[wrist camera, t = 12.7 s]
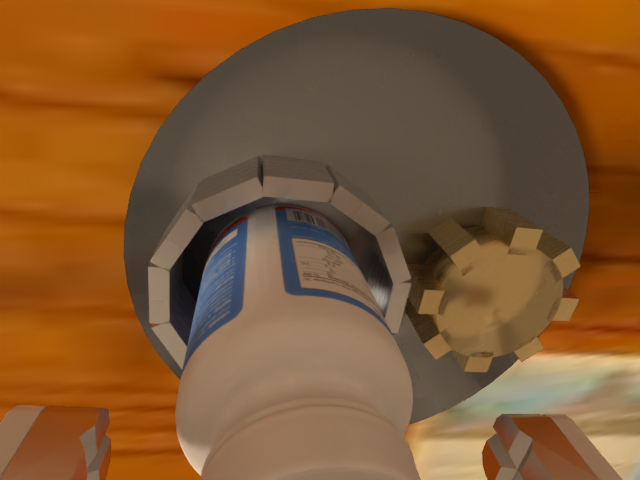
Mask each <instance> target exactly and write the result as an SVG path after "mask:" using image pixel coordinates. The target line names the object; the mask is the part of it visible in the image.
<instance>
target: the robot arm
mask: <svg viewBox="0 0 640 480" xmlns="http://www.w3.org/2000/svg"><path fill="white" fill-rule="evenodd" d="M108 425H109V413H108V409H106V408H90V407H66V406H30V405H17V406H15V407H14V408H13V409H12V410H10V411H9V412H8V413H7V414H6V416H5V417H4V419H3V420H2V421H1V423H0V480H106V476H107V472H108V468H109V463H110V455H111V439H110V438H109V437H107V436H106V435H105V432H106V430H107V427H108ZM493 428H494V430H495V432H496V434H495V435H494V436H492V437H491V438H490V439H488V440H487V441H486V444H485V446H484V449H483V452H482V457H483V468H484V471H485V474H486V477H487V479H488V480H622V478H621V477H620V476H619V475H618V474H617V473H616V471H615V470H614V469H613V468H612V467H611V465H610V464H609V463H608V462H607V461H606V459H605V458H604V457H603V456H602V455H601V453H600V452H599V451H598V450H597V449H596V448H595V446H594V445H593V444H592V443H591V442H590V440H589V439H588V438H587V437H586V436H585V434H584V433H583V432H582V431H581V430H580V428H579V427H578V426H577V425H576V424H575V423H574V421H573V420H572V419H570V418H569V417H567V416H566V415H545V414H544V415H540V414H502V415H501V416H499V417H498V418H497V419H496V421H495V423H494V425H493Z"/></svg>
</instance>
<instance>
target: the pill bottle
mask: <svg viewBox="0 0 640 480" xmlns="http://www.w3.org/2000/svg"><path fill="white" fill-rule="evenodd" d="M412 406H413V389H412V382H411V377H410V373H409V370H408V367H407V365H406V362H405V360H404V358H403V356H402V354H401V352H400V349H399V347H398V345H397V343H396V341H395V339H394V336H393V334H392V332H391V330H390V328H389V326H388V324H387V322H386V320H385V318H384V316H383V314H382V312H381V310H380V308H379V306H378V304H377V302H376V300H375V298H374V296H373V294H372V292H371V290H370V288H369V285H368V283H367V282H366V280H365V278H364V276H363V274H362V272H361V270H360V268H359V266H358V264H357V262H356V260H355V258H354V256H353V254H352V252H351V250H350V248H349V246H348V244H347V242H346V240H345V238H344V237H343V235H342V234H341V233H340V231H339V230H338V229H337V228H336V227H335V226H334V225H333V224H332V223H331V222H329V221H328V220H327V219H325V218H324V217H322V216H321V215H319V214H317V213H315V212H313V211H311V210H308V209H305V208H301V207H297V206H292V205H270V206H264V207H260V208H256V209H253V210H251V211H248V212H246V213H244V214H242V215H240V216H239V217H237V218H236V219H234V220H233V221H231V222H230V223H229V224H228V225H227V226H226V227H225V228H224V229H223V230H222V231H221V232H220V234H219V235H218V236H217V238H216V239H215V241H214V243H213V244H212V246H211V249H210V251H209V254H208V257H207V260H206V263H205V267H204V272H203V276H202V281H201V285H200V290H199V295H198V299H197V304H196V308H195V313H194V317H193V322H192V327H191V332H190V336H189V341H188V346H187V350H186V355H185V360H184V364H183V369H182V374H181V379H180V384H179V389H178V396H177V403H176V429H177V435H178V439H179V442H180V445H181V448H182V450H183V452H184V454H185V456H186V457H187V459H188V461H189V463H190V464H191V465H192V467H193V468H194V469H195V470H196V472H197V473H198V474H199V475H200V476H201V480H420V477H419V474H418V472H417V469H416V466H415V463H414V459H413V455H412V452H411V449H410V447H409V445H408V443H407V441H406V440H405V438H404V435H405V433H406V430H407V427H408V424H409V421H410V418H411V413H412Z"/></svg>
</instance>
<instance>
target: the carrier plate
mask: <svg viewBox="0 0 640 480" xmlns="http://www.w3.org/2000/svg"><path fill="white" fill-rule="evenodd" d="M270 205H292V206H297V207H301V208H305V209H308V210H311V211H313V212H315V213H317V214H319V215H321V216H322V217H324V218H325V219H327V220H328V221H329V222H331V223H332V224H333V225H334V226H335V227H336V228H337V229H338V230H339V231H340V233H341V234H342V235H343V237H344V238H345V240H346V242H347V244H348V246H349V248H350V250H351V252H352V254H353V256H354V258H355V260H356V262H357V264H358V266H359V268H360V270H361V272H362V274H363V276H364V278H365V280H366V282H367V283H368V285H369V288H370V290H371V292H372V294H373V296H374V298H375V300H376V302H377V304H378V306H379V308H380V310H381V312H382V314H383V316H384V318H385V320H386V322H387V324H388V326H389V328H390V330H391V332H392V334H393V336H394V339H395V341H396V343H397V345H398V347H399V349H400V352H401V354H402V356H403V358H404V360H405V362H406V365H407V367H408V370H409V373H410V377H411V382H412V389H413V406H412V413H411V418H410V421H409V424H412V423H415V422H418V421H421V420H424V419H427V418H429V417H431V416H434V415H436V414H438V413H440V412H443V411H445V410H447V409H449V408H451V407H453V406H455V405H457V404H458V403H460V402H462V401H464V400H466V399H467V398H469V397H471V396H472V395H474V394H475V393H477V392H478V391H480V390H481V389H483V388H484V387H486V386H487V385H489V384H490V383H492V382H493V381H494V380H495V379H496V378H498V377H499V376H500V375H501V374H502V373H504V372H505V371H506V370H507V369H508V368H510V367H511V366H512V365H513V364H514V363H515V362H516V361H517V360H518V359H520V361H521V362H523V361H524V360H526V359H528V358H529V357H531V356H532V355H534V354H536V353H537V352H539V351H540V350H542V349H544V348H543V346H542V345H541V343H540V342H539V340H538V337H539V336H540V334H541V333H542V332H543V331H544V329H545V328H546V327H547V326H548V325H549V323H550V322H551V321H552V320H558V321H569V320H570V318H571V316H572V314H573V312H574V309H575V307H576V305H577V303H578V301H579V298H578V297H576V296H575V295H574V294H572V293H571V292H570V291H569V290H568V289H569V287H570V285H571V283H572V280H573V278H574V275H575V272H576V270H577V269H578V268H579V267H581V266H580V264H579V262H580V258H581V254H582V250H583V246H584V242H585V238H586V233H587V224H588V216H589V180H588V174H587V168H586V162H585V156H584V152H583V149H582V146H581V143H580V140H579V137H578V134H577V131H576V128H575V125H574V124H573V122H572V120H571V118H570V116H569V114H568V112H567V110H566V108H565V106H564V104H563V102H562V100H561V99H560V98H559V96H558V95H557V94H556V92H555V91H554V90H553V88H552V87H551V86H550V84H549V83H548V82H547V80H546V79H545V78H544V76H543V75H541V74H540V73H539V72H538V71H537V70H536V69H535V68H534V67H533V66H532V65H531V64H530V63H529V62H528V61H527V60H526V59H525V58H524V57H523V56H522V55H520V54H519V53H517V52H516V51H515V50H513V49H512V48H510V47H509V46H507V45H506V44H504V43H503V42H501V41H500V40H498V39H497V38H495V37H494V36H492V35H490V34H488V33H485V32H483V31H481V30H479V29H477V28H474V27H472V26H470V25H468V24H466V23H464V22H461V21H457V20H454V19H450V18H446V17H443V16H439V15H435V14H432V13H428V12H421V11H411V10H402V9H393V8H382V9H360V10H348V11H343V12H338V13H333V14H328V15H323V16H318V17H313V18H310V19H307V20H304V21H301V22H299V23H296V24H293V25H290V26H288V27H285V28H282V29H279V30H276V31H274V32H272V33H270V34H268V35H266V36H265V37H263V38H261V39H259V40H257V41H255V42H253V43H251V44H250V45H248V46H246V47H244V48H242V49H240V50H239V51H237V52H236V53H235V54H233V55H232V56H231V57H229V58H228V59H226V60H225V61H224V62H222V63H221V64H220V65H218V66H217V67H216V68H214V69H213V70H212V71H210V72H209V73H208V74H207V75H206V76H205V77H204V78H203V79H202V80H201V81H200V82H199V83H198V84H197V85H196V86H195V87H194V88H193V89H191V90H190V91H189V92H188V93H187V94H186V95H185V96H184V97H183V98H182V99H181V100H180V102H179V103H178V104H177V106H176V107H175V109H174V110H173V111H172V113H171V114H170V115H169V117H168V118H167V119H166V121H165V122H164V123H163V125H162V126H161V127H160V129H159V130H158V132H157V134H156V136H155V137H154V139H153V141H152V143H151V145H150V147H149V149H148V151H147V152H146V154H145V156H144V158H143V160H142V162H141V165H140V168H139V171H138V173H137V176H136V179H135V182H134V185H133V188H132V191H131V193H130V199H129V204H128V210H127V215H126V220H125V231H124V261H125V269H126V277H127V284H128V288H129V291H130V295H131V298H132V302H133V305H134V309H135V312H136V314H137V316H138V318H139V320H140V323H141V325H142V327H143V329H144V331H145V333H146V336H147V337H148V339H149V340H150V342H151V343H152V345H153V346H154V348H155V349H156V351H157V352H158V354H159V356H160V357H161V358H162V360H163V361H164V362H165V363H166V364H167V365H168V366H169V367H170V369H171V370H172V371H173V372H174V373H175V374H176V375H177V377H178V378H180V379H181V374H182V369H183V364H184V360H185V355H186V350H187V346H188V341H189V336H190V332H191V327H192V322H193V317H194V313H195V308H196V304H197V299H198V295H199V290H200V285H201V281H202V276H203V272H204V267H205V263H206V260H207V257H208V254H209V251H210V249H211V246H212V244H213V243H214V241H215V239H216V238H217V236H218V235H219V234H220V232H221V231H222V230H223V229H224V228H225V227H226V226H227V225H228V224H229V223H230V222H231V221H233V220H234V219H236V218H237V217H239V216H240V215H242V214H244V213H246V212H248V211H251V210H253V209H256V208H260V207H264V206H270ZM409 424H408V425H409Z"/></svg>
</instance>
